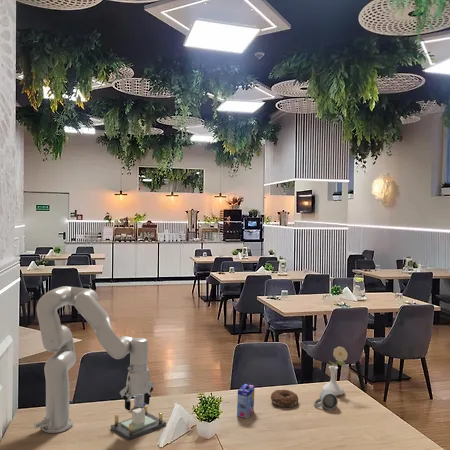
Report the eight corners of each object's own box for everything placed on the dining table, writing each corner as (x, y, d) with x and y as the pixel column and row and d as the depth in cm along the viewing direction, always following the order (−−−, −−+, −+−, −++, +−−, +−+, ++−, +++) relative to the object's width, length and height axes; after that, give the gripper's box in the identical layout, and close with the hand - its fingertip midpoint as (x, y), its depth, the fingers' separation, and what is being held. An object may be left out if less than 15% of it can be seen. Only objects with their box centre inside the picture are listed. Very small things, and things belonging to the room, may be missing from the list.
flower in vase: (322, 396, 226) (322, 348, 226) (321, 388, 237) (321, 342, 238) (348, 398, 224) (348, 349, 224) (346, 390, 235) (346, 343, 235)
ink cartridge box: (247, 418, 200) (248, 387, 200) (236, 416, 202) (236, 385, 202) (254, 410, 209) (254, 380, 209) (243, 408, 211) (244, 378, 211)
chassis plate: (128, 440, 179) (128, 426, 179) (110, 428, 189) (110, 416, 189) (166, 425, 192) (166, 413, 192) (147, 415, 202) (147, 403, 202)
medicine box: (142, 407, 211) (142, 389, 211) (133, 407, 212) (134, 389, 212) (148, 401, 219) (148, 384, 219) (140, 400, 220) (140, 383, 220)
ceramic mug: (333, 402, 218) (333, 387, 218) (338, 409, 210) (337, 393, 210) (312, 403, 218) (312, 387, 218) (316, 410, 210) (315, 394, 210)
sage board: (132, 431, 183) (132, 417, 183) (120, 424, 189) (120, 411, 189) (155, 422, 192) (155, 409, 192) (144, 416, 198) (144, 403, 198)
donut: (270, 397, 226) (271, 387, 226) (297, 398, 224) (297, 388, 224) (270, 408, 212) (270, 398, 212) (298, 410, 210) (298, 399, 210)
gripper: (126, 373, 182) (124, 414, 182) (160, 365, 194) (158, 404, 194) (116, 369, 187) (115, 409, 187) (150, 361, 199) (148, 398, 199)
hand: (137, 406), depth 190 cm, fingers open, 9 cm apart
